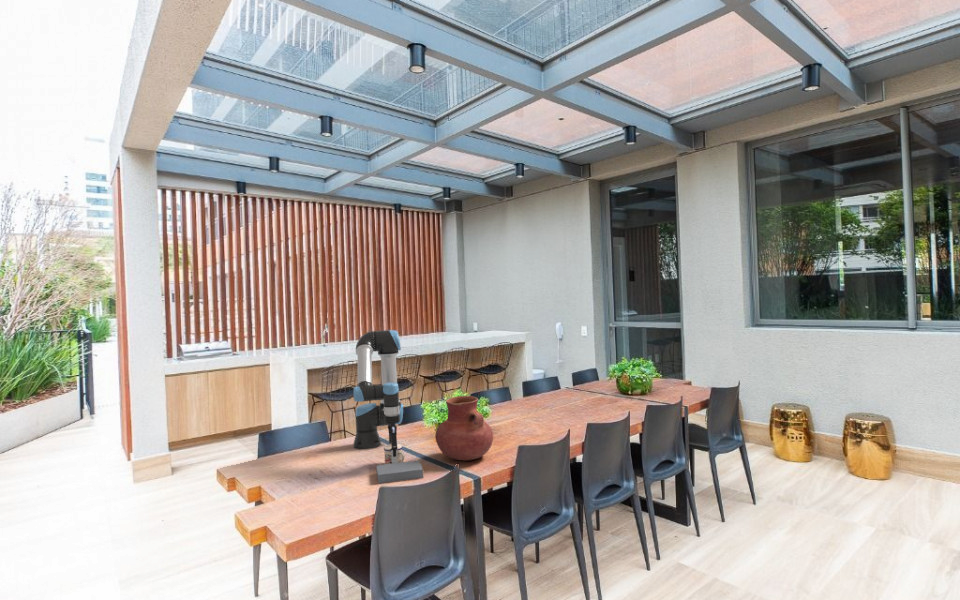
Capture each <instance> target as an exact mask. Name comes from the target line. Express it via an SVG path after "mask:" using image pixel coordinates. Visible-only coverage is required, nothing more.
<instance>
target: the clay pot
mask: <svg viewBox="0 0 960 600" xmlns="http://www.w3.org/2000/svg"><path fill="white" fill-rule="evenodd" d="M478 401H479V398H478V397H475V396H473V395H459V396H453V397H449V398H447V399H446V400H445V403H446V407H447V418H446V420H444V421H443V422H441V423H440V424H439V425H438V426H437V428H436V431H435V441H436V443H437V444H436V445H437V446H438V449H439V450H440V452H441V453H442V454H444V456H446V457H448V458H450V459H453V460H457V461H472V460H473V461H474V460H477V459H479V458H481V457H483V456H485V455H486V454H487V453H488V451H489V450H490V449H491V447H492V445H493V441H494V432H493V430H492V427H491V426H490V424H489V423H487V422H486V421H485V419H484V415H483V414H482V413H481V412H480V411H478Z"/></svg>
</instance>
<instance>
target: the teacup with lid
mask: <svg viewBox="0 0 960 600" xmlns="http://www.w3.org/2000/svg"><path fill="white" fill-rule="evenodd" d="M391 448H392V446H391V444H390V443H389V444H387V445H385V446H384V447H383V450H384V451H383V452H384V464H392V454H391V450H390V449H391ZM397 460H398V463H400V462H405V461H404V460H405V454H404V452H403V445H402V444H399V443H397Z"/></svg>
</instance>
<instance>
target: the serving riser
mask: <svg viewBox="0 0 960 600" xmlns="http://www.w3.org/2000/svg"><path fill="white" fill-rule="evenodd" d="M375 470H376V476H377V483H378V484H380V485H381V484H385V483H393V482H402V481H407V480H408V481H409V480H417V479H423V478H424V469H423V466H422V464H421V463H420V460H419V459H418V460H411V461H410V460H409V461H403V462H400V463H392V464H385V463H384V464H379V465H376V469H375Z"/></svg>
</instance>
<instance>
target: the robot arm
mask: <svg viewBox="0 0 960 600" xmlns="http://www.w3.org/2000/svg"><path fill="white" fill-rule="evenodd" d="M400 340H401V339H400V336H399V332H398V330H392V329H389V330H387V329H386V330H371V331H367V332H366V333H364V334H363V335H362V336H361V337H359V339H358V341H357V343H356V346H355V354H356V355H357V386H354V387H353V401H354V402H355V403H356V402H359V403H361V402H368V401H371V402H369V403H365V404H361V405H359V406H357V407H356V408H355V416H354V417H355V429H356V431H355V433H356V434H355V436H354V440H353V448H354V449H356V450H371V449H375V448H378V447H380V446H381V444H382V439H381V437H380V434H379V432H378V427H384V426H387V429H388V430H387V431H388V443H389V444H391V446H392V448H391V449H390V450H391V454H392V463H398V460H397V444H398V438H397V433H398V432H397V429H398V427H397V425H401V423H402V422H403V414H404V404H403V402H401V399H400V396H399V391H400V389H399V384H398V378H397V377H398V375H397V373H398V372H397V356H398V354H399V351H401V349H402V347H401V342H400ZM374 352H377V355H378V356H379V357H380V368H381V384H379V385H375V384H374V385H373V363H372V362H373V360H372V359H373V358H372V355H373V354H374ZM372 401H379V404H378V405H377V403H375V402H372Z"/></svg>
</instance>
